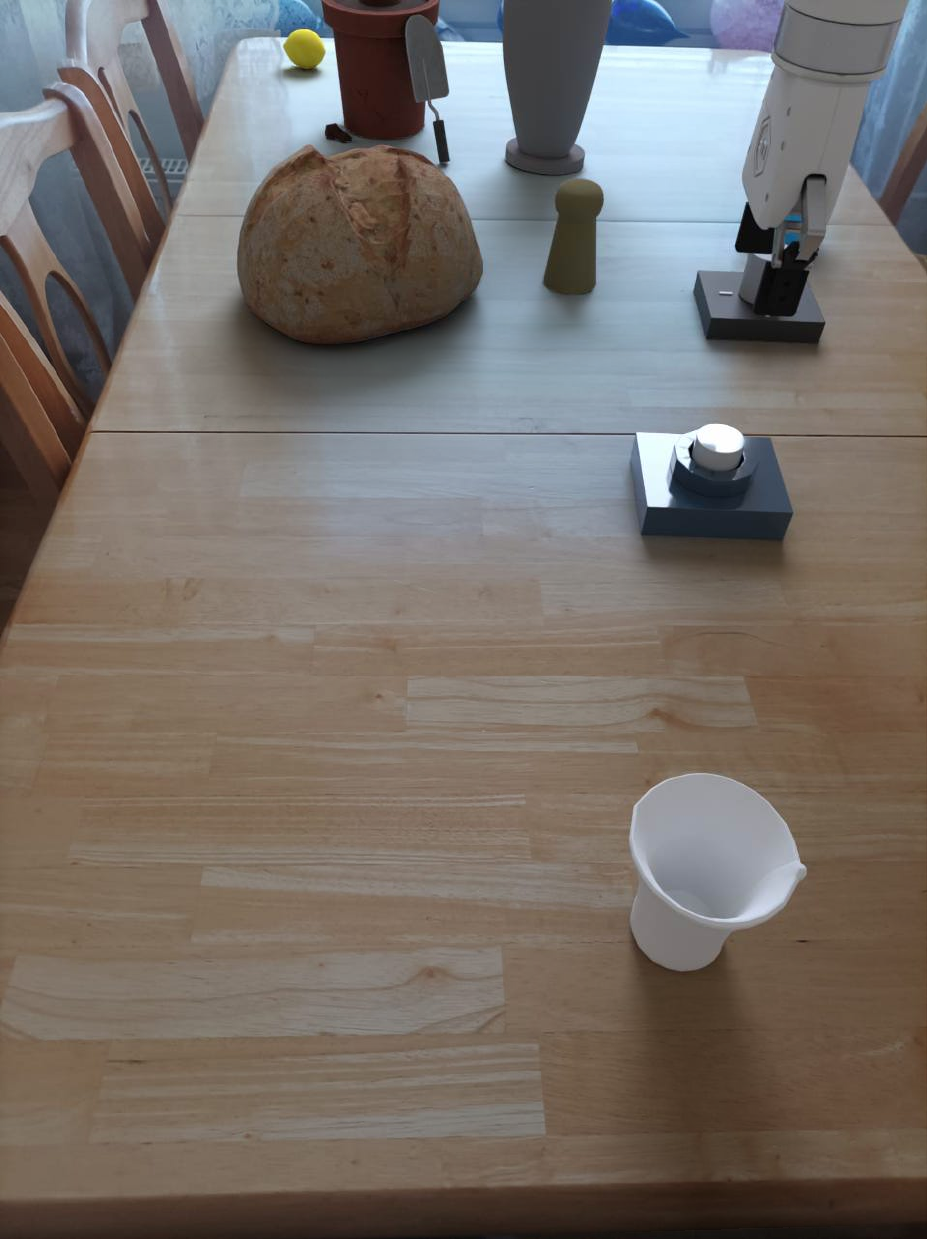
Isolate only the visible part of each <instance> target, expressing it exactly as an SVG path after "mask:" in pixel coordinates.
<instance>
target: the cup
mask: <svg viewBox="0 0 927 1239" xmlns="http://www.w3.org/2000/svg"><path fill="white" fill-rule="evenodd" d="M628 845H629V846H628V847H629V851H630V856H631V861H632V863H633V865H634V867H635V868H636V870H637V872H636V874H637V882H638V886H637V891H636V892H637V893H636V896H635V898H634V901H633V903H632V906H631V907H632V908H631V911H630V917H629V924H630V929H631V932H632V936H633V937H634V939H635V942H636V944H637V946H638V948H639V950H641V951H642V952H643V953H644V954H645V955H646V956H647V958H648V959H649V960H650V961H651V962H653V963H655V964H657V965H660V966H661V967H663V968H666V969H668V970H673V971H676V972H691V971H698V970H700V969H702V968H705V967H707V966H708V965H710V964H711V963H712V962H714V961H715V960H716V958H718V956H719V954H720V953H721V951H722V948H723V945H724V944H725V942H726V940H727V939H728V937H729V936H730V935H731V934H732V932H734V931H738V930H745V929H750V928H753V927H755V926H758V925H761V924H763V923H766V922H768V921H770V919H771V918H773V917H774V916H776V914H778V913H779V912H780V911H781V910H783V909H785V907H786V905H787V904H788V902H789V900H790V898H791V897H792V895H793V893H794V891H795V890H796V888H797V886H798V884H799V883H800V882H802V880H804V879H805V878H806V877H807V875H808V873H807V872H808V871H807V866H805V864H803V863H801V859H800V855H799V852H798V847H797V844H796V842H795V839H794V836H793V835H792V833H791V830H790V828H789V826H788V824H787V822H786V821H785V820H784V819H783V818H782V816H781V815H780V814H779V813H778V812H777V810H776V809H775V807H773V805H772V804H771V803H770V802H769V801H768V800H767V799H765V798H764V797H763V795H761V794H759V793H758V792H757V791H756V790H754V789H752V788H750V787H749V786H747V785H746V784H743V783H742V782H739V781H738V780H735V779H732V778H730V777H727V776H724V775H719V774H714V773H707V772H701V773H700V772H699V773H698V772H697V773H686V774H683V775H679V776H674V777H670V778H666V779H665V780H663V781H661V782H659V783H658V784H656V785H655V786H653V787H651V788H650V789H649V790H648V791H646V793H645V794H643V796H642V797H641V798H640V799H639V800H638V801H637V802H636V803H635V804H634V805H633V809H632V817H631V824H630V830H629V836H628Z"/></svg>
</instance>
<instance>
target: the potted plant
mask: <svg viewBox="0 0 927 1239" xmlns="http://www.w3.org/2000/svg"><path fill="white" fill-rule="evenodd" d="M320 1H321V7H322V15H323V21H324V23H325V25H327V26H328V27H329V28H330V29H332V34H333V43H334V50H335V59H336V68H337V77H338V83H339V92H340V100H341V108H342V117H343V124H344V128H345V129H346V130H347V131H348V132H349V133H350V134H352V135H355V136H358V137H362V138H366V139H370V140H378V141H379V140H380V141H388V140H399V139H405V138H406V139H407V138H409V137H412V136H415V135H417V134H419V133H420V132H422V130H423V129H424V127H425V122H426V103H427V105H428V108H429V109H430V110H431V112H432V113H433V114H434V116H435V120H433V121H432V126H433V128H432V129H433V134H434V139H435V146H436V151H437V157H438V163H439V164H444V163H449V162H450V161H451V159H450V153H449V145H448V141H447V140H448V138H447V132H446V126H445V121H444V119H441V118H440V114H439V112H438V110H437V109H436V108H435V106H434V105H433V103H432V101H433V100H438V99H443V98H447V97H448V96H449V95H450V86H449V79H448V72H447V67H446V60H445V54H444V48H443V47H444V46H443V44H442V42H441V39H440V37H439V35H438V32H437V31H436V29H435V27H436V25H437V24H438V21H439V15H440V14H439V13H440V3H441V0H320ZM347 131H344V130H343V129H342V128H341V127H340V126H339V125H338V123H336V122H335V123H329V124H326V125H325V129H324V135H325V138H326V139H327V140H336V141H337V142H338V141H339V142H340V143H342V144H346V143H351V142H354V140H353V136H351V135H350V134H349V133H348V132H347Z"/></svg>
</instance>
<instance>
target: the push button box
mask: <svg viewBox="0 0 927 1239" xmlns="http://www.w3.org/2000/svg"><path fill="white" fill-rule="evenodd" d="M699 429H700V428H698V429H697V428H696V429H695V430H692V431H688V432H686V433H666V432H665V433H664V432H643V431H636V432H635V434H634V440H633V444H632V449H631V452H630V453H631V454H630V458H629V463H630V469H631V477H632V483H633V491H634V498H635V504H636V505H635V506H636V512H637V518H638V526H639V532H640V536H652V537H653V536H654V537H655V536H656V537H676V538H677V537H679V538H680V537H681V538H682V537H683V538H704V539H705V538H706V539H729V540H730V539H731V540H750V541H751V540H755V541H756V540H757V541H776V542H777V541H778V542H782V541H784V539H785V536H786V533H787V531H788V528H789V526H790V523H791V520H792V518H793V516H794V510H793V507H792V503H791V500H790V497H789V493H788V491H787V487H786V483H785V481H784V477H783V474H782V470H781V468H780V464H779V461H778V457H777V455H776V452H775V448H774V445H773V442H772V439H771V438H772V437H764V436H744V438H745V446H744V449H743V452H742V456H741V459H740V462H739V464H738V466H737V467H736V468H735V469H733V470H731V471H728V472H721V471H711V470H709V469H706V468H703V467H701V466H699V465H698V464H697V463H696V462H695V461H694V460H693V458H692V449H693V446H694V442H695V438H696V434H697V432H698V430H699Z"/></svg>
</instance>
